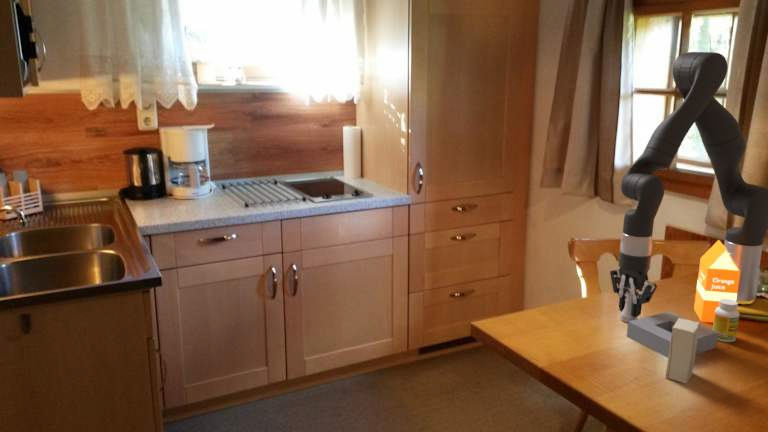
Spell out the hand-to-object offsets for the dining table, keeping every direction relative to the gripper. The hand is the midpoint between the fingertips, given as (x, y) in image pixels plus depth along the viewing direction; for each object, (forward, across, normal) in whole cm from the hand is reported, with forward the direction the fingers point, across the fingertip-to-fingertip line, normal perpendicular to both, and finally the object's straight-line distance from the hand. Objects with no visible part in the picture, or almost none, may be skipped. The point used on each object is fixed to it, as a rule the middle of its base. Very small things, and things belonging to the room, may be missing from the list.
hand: (629, 313), depth 165 cm
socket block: (+2, -14, +1) cm, 14 cm away
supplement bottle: (+2, -18, -13) cm, 22 cm away
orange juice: (+2, -8, -22) cm, 24 cm away
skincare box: (+2, -26, +13) cm, 29 cm away
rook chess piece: (+2, 0, 0) cm, 2 cm away
